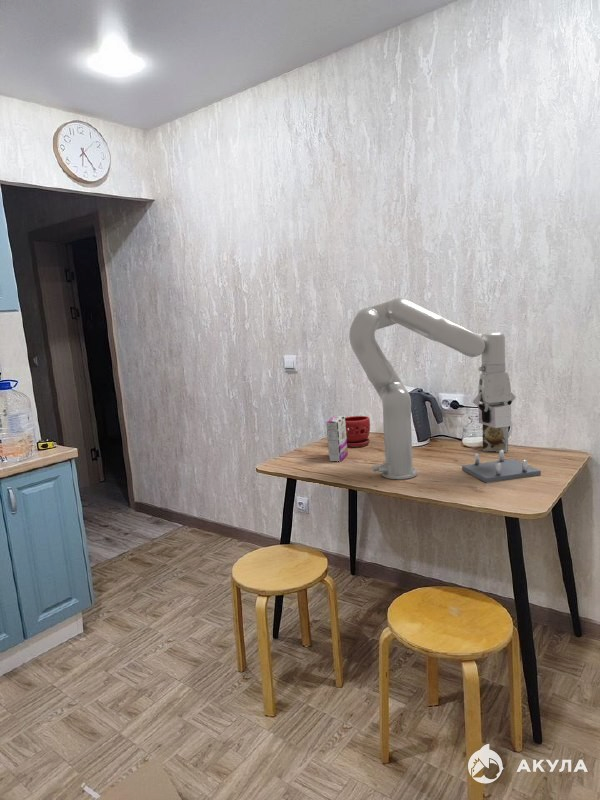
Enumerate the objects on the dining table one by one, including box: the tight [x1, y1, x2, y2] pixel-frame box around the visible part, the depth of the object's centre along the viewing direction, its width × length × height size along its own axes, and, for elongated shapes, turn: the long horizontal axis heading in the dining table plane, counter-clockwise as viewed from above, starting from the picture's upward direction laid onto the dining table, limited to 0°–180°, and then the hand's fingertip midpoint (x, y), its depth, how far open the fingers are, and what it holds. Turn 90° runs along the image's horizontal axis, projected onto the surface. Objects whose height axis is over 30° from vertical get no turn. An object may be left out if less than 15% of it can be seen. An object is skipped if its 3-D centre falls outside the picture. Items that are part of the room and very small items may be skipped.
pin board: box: [461, 458, 542, 484], centre depth 188 cm, size 20×16×2 cm
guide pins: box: [474, 450, 528, 476], centre depth 187 cm, size 11×15×4 cm
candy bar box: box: [325, 415, 349, 463], centre depth 219 cm, size 11×5×16 cm, turn 160°
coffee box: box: [482, 424, 509, 453], centre depth 214 cm, size 9×6×16 cm
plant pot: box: [345, 415, 371, 448], centre depth 239 cm, size 13×13×12 cm
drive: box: [477, 402, 512, 428], centre depth 187 cm, size 6×10×7 cm, turn 14°
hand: (494, 420), depth 187 cm, fingers closed on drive, 6 cm apart
